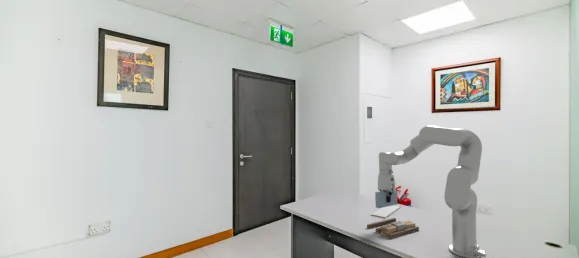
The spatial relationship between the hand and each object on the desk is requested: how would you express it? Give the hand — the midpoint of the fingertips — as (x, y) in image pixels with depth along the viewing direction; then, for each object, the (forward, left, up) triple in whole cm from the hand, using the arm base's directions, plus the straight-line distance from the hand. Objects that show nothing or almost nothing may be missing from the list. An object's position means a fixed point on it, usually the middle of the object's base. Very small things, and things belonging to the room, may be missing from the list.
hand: (386, 201), depth 150 cm
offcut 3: (-8, -8, -16) cm, 20 cm away
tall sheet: (0, 0, -3) cm, 3 cm away
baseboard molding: (+22, -23, -16) cm, 35 cm away
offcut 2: (-8, 0, -16) cm, 18 cm away
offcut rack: (-4, 0, -16) cm, 16 cm away
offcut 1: (-8, +8, -16) cm, 20 cm away
